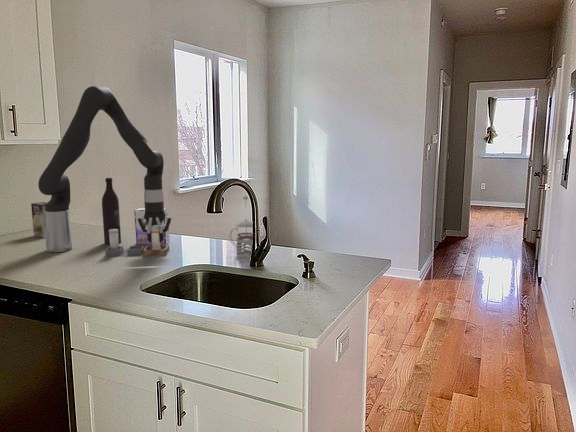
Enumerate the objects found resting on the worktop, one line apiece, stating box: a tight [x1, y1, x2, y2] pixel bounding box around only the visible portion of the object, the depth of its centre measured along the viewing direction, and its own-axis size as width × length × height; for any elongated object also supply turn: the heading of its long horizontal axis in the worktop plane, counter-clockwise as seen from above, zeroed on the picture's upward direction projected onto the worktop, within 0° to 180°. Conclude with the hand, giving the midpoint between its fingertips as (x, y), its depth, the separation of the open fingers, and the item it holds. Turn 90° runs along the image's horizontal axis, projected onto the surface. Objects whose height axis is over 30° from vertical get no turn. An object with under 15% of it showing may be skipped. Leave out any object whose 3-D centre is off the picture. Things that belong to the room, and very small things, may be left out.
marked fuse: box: [151, 226, 161, 250], centre depth 203 cm, size 4×4×10 cm
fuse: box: [109, 229, 120, 250], centre depth 201 cm, size 4×4×10 cm
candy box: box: [133, 207, 171, 245], centre depth 221 cm, size 14×6×16 cm, turn 84°
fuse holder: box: [104, 245, 146, 258], centre depth 202 cm, size 14×9×3 cm, turn 96°
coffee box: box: [30, 201, 47, 239], centre depth 241 cm, size 9×6×16 cm
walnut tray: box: [142, 244, 170, 257], centre depth 204 cm, size 9×9×3 cm
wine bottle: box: [101, 177, 122, 246], centre depth 220 cm, size 7×7×30 cm
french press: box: [229, 195, 254, 262], centre depth 196 cm, size 10×12×25 cm
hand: (155, 241), depth 203 cm, fingers open, 3 cm apart
